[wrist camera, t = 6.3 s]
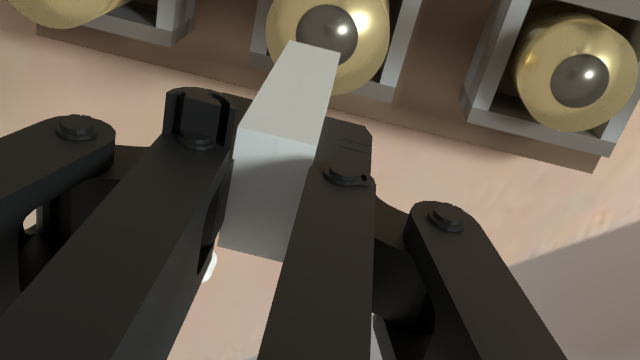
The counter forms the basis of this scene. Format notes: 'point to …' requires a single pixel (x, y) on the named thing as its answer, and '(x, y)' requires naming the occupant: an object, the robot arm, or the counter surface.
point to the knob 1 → (64, 11)
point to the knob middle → (334, 34)
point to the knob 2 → (571, 68)
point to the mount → (395, 72)
